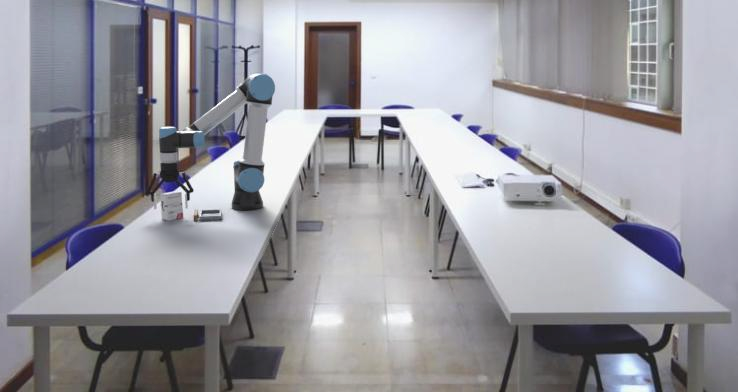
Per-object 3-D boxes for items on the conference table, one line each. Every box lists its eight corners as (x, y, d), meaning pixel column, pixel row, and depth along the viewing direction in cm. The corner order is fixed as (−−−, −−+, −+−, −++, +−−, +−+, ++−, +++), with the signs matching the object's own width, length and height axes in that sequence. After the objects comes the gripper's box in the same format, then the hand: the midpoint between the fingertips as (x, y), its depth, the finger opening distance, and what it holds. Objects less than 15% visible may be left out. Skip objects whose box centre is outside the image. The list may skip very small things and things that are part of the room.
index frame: (221, 213, 331) (221, 209, 331) (221, 219, 318) (221, 215, 318) (200, 214, 329) (200, 210, 329) (199, 221, 316) (199, 216, 316)
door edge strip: (198, 214, 328) (198, 209, 328) (197, 220, 317) (196, 215, 316) (195, 214, 328) (194, 209, 328) (193, 220, 317) (193, 215, 316)
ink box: (177, 215, 326) (175, 190, 324) (183, 217, 323) (182, 191, 321) (160, 219, 320) (159, 193, 317) (167, 220, 317) (166, 194, 314)
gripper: (198, 160, 322) (199, 205, 326) (140, 160, 318) (143, 207, 322) (197, 162, 315) (199, 209, 319) (138, 163, 310) (141, 210, 314)
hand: (171, 208), depth 320 cm, fingers open, 13 cm apart
